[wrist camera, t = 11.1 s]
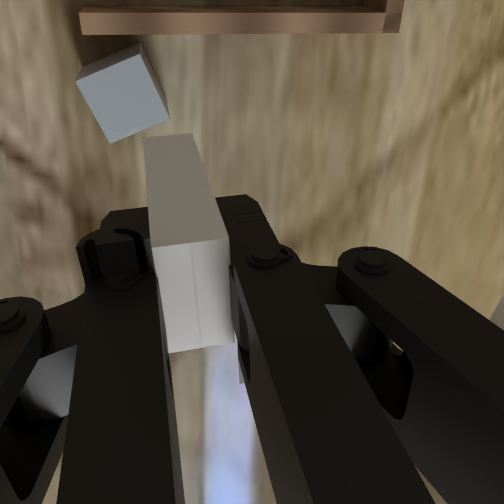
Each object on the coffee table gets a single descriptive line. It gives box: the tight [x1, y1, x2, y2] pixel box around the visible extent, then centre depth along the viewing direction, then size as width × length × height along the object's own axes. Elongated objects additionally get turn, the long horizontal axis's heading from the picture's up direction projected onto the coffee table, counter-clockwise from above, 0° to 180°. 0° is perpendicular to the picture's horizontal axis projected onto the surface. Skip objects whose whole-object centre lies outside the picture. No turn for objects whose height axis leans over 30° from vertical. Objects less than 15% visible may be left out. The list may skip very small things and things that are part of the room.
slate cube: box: [75, 43, 170, 144], centre depth 32 cm, size 4×4×4 cm
